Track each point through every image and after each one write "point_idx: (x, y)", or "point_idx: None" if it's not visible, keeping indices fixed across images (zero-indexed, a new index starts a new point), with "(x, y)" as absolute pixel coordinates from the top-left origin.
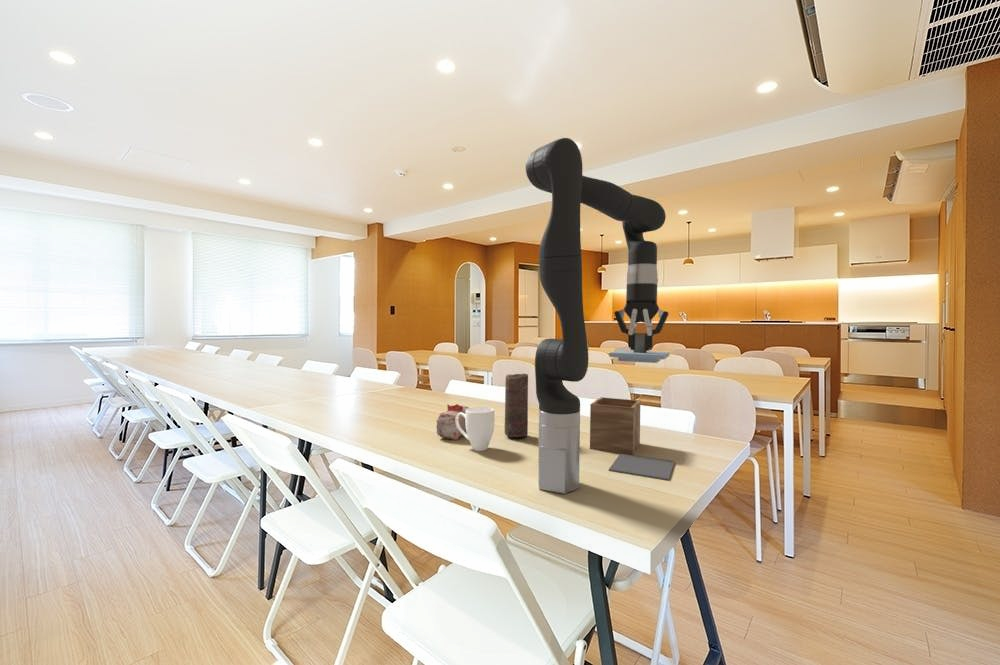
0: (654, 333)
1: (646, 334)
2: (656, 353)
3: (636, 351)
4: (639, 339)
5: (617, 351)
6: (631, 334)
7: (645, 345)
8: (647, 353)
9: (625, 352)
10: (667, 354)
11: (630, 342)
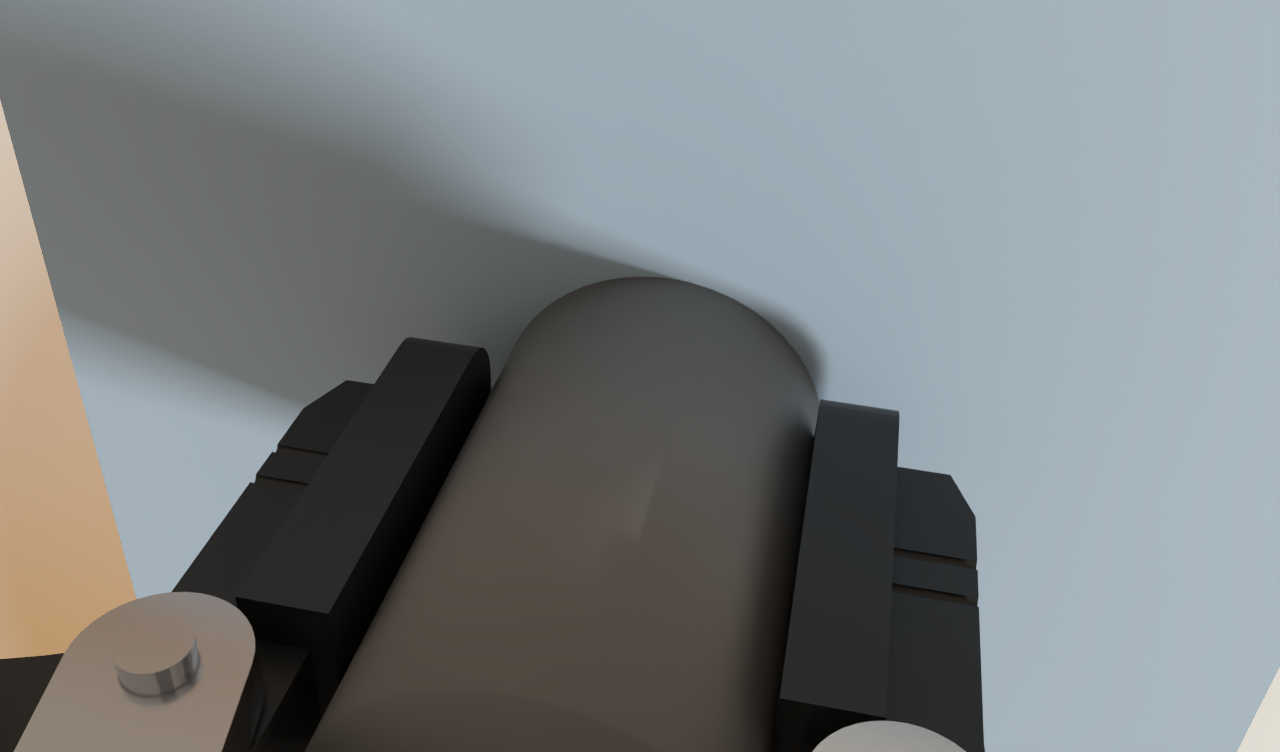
0: (20, 686)
1: (318, 728)
2: (246, 233)
3: (736, 316)
4: (581, 518)
5: (1271, 470)
6: (861, 746)
7: (464, 451)
8: (430, 111)
9: (1055, 192)
10: (107, 416)
11: (903, 574)
